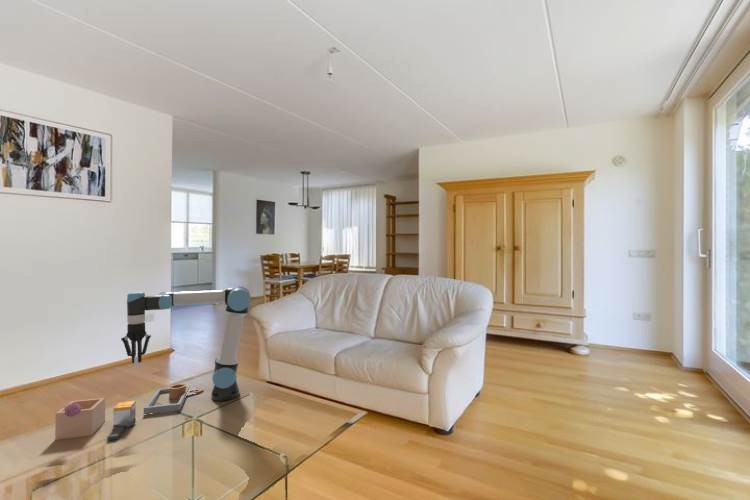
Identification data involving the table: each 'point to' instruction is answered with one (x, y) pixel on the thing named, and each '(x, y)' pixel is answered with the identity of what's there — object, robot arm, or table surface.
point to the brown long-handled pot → (179, 391)
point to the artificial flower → (72, 409)
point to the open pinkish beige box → (81, 419)
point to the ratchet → (119, 430)
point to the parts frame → (164, 408)
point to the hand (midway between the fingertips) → (137, 368)
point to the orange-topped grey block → (124, 412)
